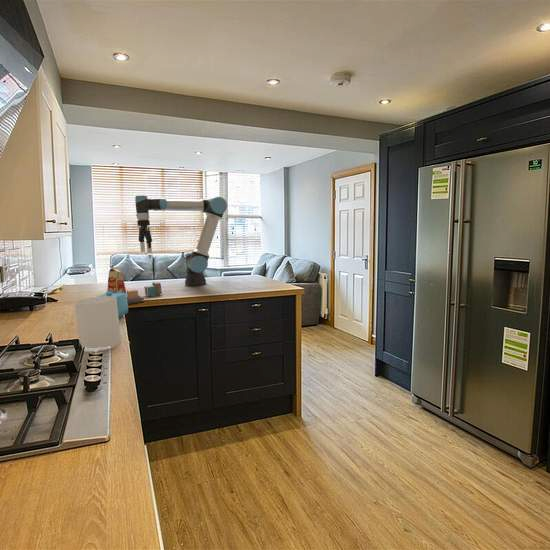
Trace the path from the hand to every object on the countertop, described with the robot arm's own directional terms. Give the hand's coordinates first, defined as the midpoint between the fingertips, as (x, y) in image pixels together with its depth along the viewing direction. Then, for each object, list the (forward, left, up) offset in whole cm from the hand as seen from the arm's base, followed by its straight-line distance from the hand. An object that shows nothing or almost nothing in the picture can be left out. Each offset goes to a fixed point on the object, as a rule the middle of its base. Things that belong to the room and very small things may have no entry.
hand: (146, 252), depth 252 cm
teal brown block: (+2, +12, -27) cm, 29 cm away
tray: (+17, +22, -27) cm, 38 cm away
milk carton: (+21, +1, -27) cm, 34 cm away
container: (+50, +97, -27) cm, 112 cm away
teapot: (+36, +56, -27) cm, 72 cm away
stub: (+17, +22, -26) cm, 38 cm away
